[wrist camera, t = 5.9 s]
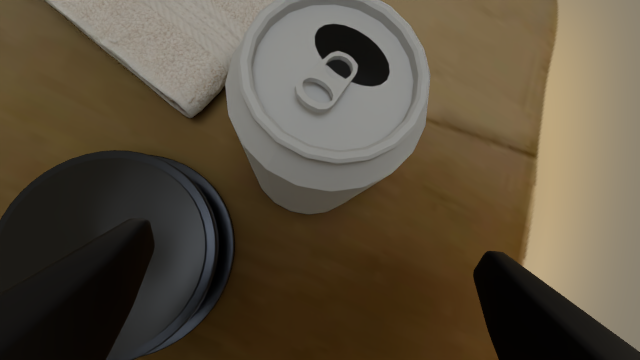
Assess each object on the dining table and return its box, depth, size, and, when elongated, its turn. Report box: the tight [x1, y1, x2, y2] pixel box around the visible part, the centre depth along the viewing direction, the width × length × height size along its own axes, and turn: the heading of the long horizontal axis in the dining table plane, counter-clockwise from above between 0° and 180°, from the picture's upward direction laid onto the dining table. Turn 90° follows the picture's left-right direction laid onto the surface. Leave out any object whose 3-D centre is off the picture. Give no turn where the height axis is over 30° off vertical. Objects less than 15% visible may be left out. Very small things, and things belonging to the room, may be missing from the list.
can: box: [225, 0, 430, 214], centre depth 15 cm, size 8×8×12 cm
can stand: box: [0, 150, 235, 360], centre depth 17 cm, size 12×12×3 cm
